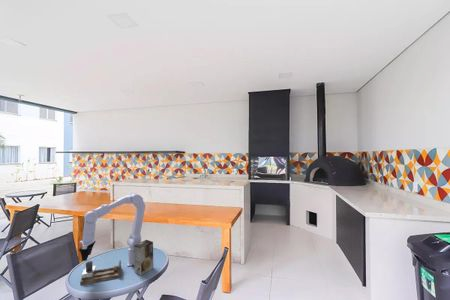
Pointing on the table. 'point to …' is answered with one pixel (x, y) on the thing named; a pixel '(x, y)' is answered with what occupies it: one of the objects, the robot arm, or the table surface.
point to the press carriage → (89, 270)
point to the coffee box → (143, 257)
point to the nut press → (103, 274)
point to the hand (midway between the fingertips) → (86, 257)
